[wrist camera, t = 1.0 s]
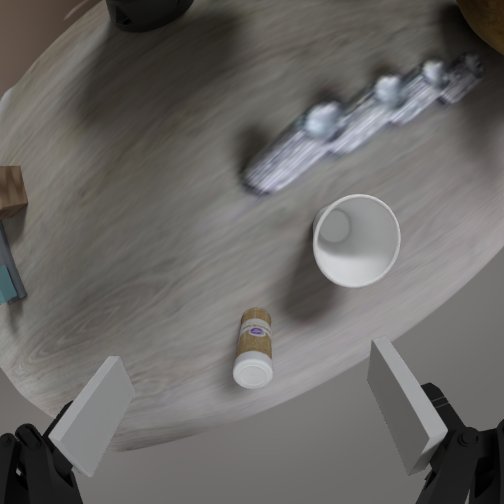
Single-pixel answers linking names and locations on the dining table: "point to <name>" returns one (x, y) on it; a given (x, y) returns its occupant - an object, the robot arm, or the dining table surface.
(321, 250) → the cup
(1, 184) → the open wooden box
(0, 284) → the carriage
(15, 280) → the rail bed
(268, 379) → the sprinkles bottle
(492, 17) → the vase
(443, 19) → the dining table surface
